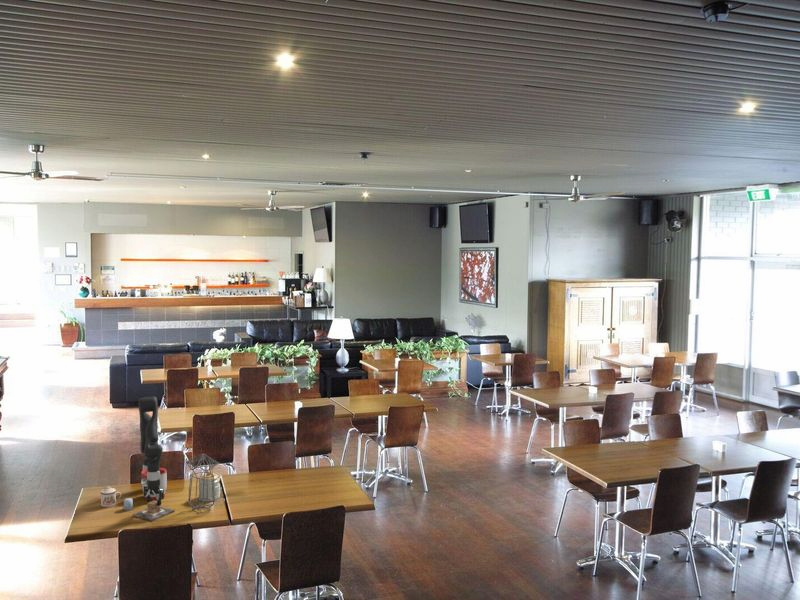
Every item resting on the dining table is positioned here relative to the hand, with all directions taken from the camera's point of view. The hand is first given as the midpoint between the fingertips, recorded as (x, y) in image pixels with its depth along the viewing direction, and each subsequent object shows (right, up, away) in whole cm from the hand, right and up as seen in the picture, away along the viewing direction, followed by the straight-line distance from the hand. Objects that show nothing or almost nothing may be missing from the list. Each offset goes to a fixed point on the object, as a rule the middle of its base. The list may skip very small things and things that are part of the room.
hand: (153, 504), depth 439 cm
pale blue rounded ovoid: (-18, -5, +7) cm, 20 cm away
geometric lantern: (+27, -6, +9) cm, 29 cm away
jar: (+26, -4, +28) cm, 39 cm away
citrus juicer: (-9, -4, +28) cm, 29 cm away
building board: (0, -6, 0) cm, 6 cm away
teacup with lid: (-31, -4, +14) cm, 34 cm away
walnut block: (0, -5, 0) cm, 5 cm away
